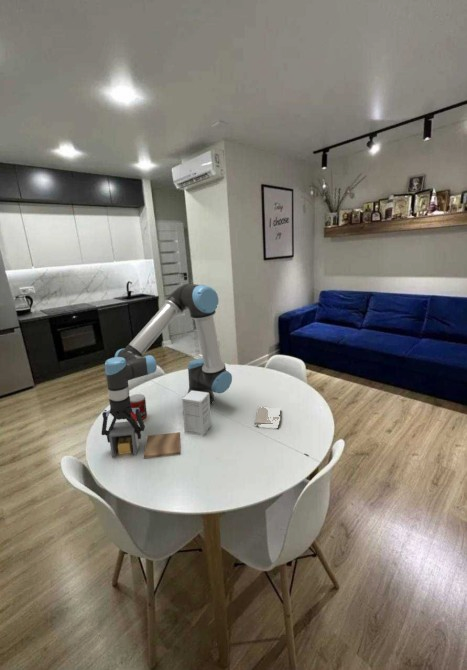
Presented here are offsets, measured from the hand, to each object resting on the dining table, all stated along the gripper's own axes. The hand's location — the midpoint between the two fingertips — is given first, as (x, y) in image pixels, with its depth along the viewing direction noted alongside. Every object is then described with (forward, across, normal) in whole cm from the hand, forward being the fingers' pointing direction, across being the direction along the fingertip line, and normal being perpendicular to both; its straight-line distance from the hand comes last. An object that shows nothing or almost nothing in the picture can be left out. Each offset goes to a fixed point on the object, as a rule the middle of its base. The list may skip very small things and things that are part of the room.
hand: (125, 447), depth 123 cm
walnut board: (+1, -15, 0) cm, 15 cm away
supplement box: (+2, -30, -10) cm, 32 cm away
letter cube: (+1, 0, 0) cm, 1 cm away
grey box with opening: (+1, 0, 0) cm, 1 cm away
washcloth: (+2, -64, -13) cm, 65 cm away
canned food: (+2, -2, -25) cm, 25 cm away
